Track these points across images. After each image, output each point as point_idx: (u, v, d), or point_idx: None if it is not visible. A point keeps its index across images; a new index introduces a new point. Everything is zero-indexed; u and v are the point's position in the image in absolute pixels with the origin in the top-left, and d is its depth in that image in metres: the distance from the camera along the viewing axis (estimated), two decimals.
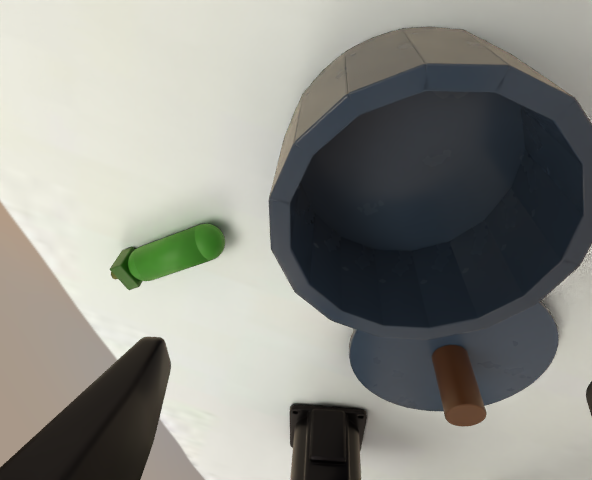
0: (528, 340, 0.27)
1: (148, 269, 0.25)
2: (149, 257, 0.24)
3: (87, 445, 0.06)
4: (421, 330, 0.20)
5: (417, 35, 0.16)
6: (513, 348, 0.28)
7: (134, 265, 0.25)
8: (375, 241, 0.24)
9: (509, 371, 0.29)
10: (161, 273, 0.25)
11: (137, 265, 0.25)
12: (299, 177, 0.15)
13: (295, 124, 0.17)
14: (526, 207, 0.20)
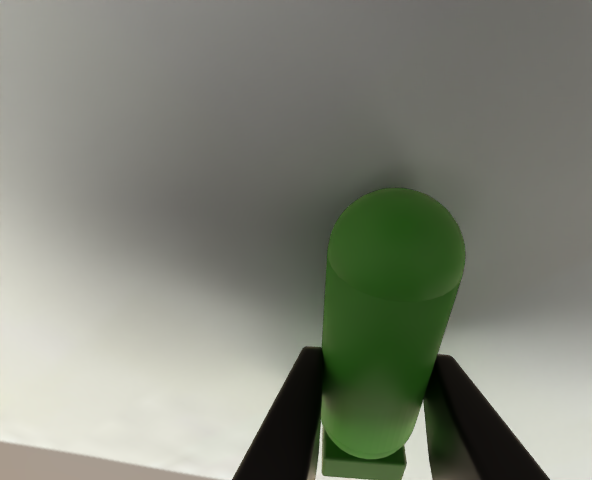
0: None
1: (365, 433, 0.08)
2: (337, 407, 0.08)
3: (305, 462, 0.06)
4: None
5: None
6: None
7: (339, 441, 0.09)
8: None
9: None
10: (399, 417, 0.08)
11: (342, 438, 0.09)
12: None
13: None
14: None
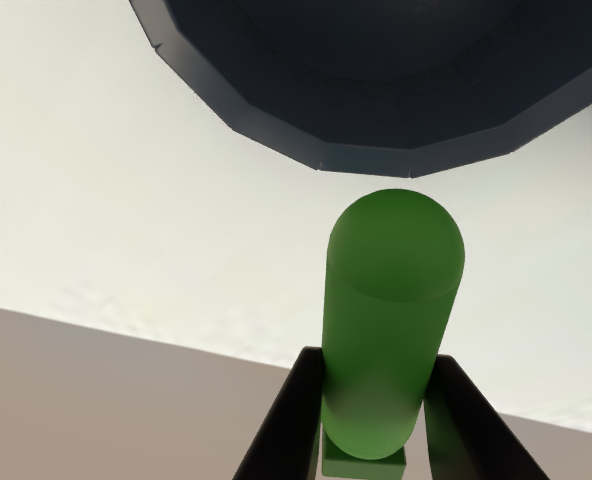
0: None
1: (365, 433, 0.08)
2: (337, 407, 0.08)
3: (305, 462, 0.06)
4: None
5: None
6: None
7: (339, 442, 0.09)
8: (494, 9, 0.14)
9: None
10: (399, 418, 0.08)
11: (342, 439, 0.09)
12: (209, 68, 0.10)
13: None
14: None
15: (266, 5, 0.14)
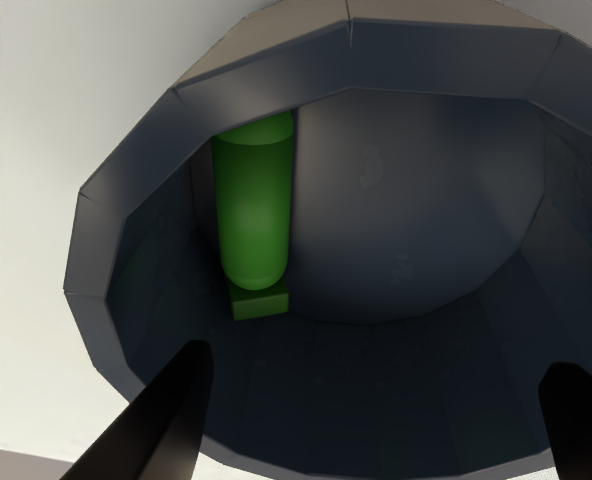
0: None
1: None
2: None
3: (149, 450, 0.06)
4: None
5: None
6: None
7: None
8: (463, 283, 0.15)
9: None
10: None
11: None
12: None
13: None
14: None
15: None
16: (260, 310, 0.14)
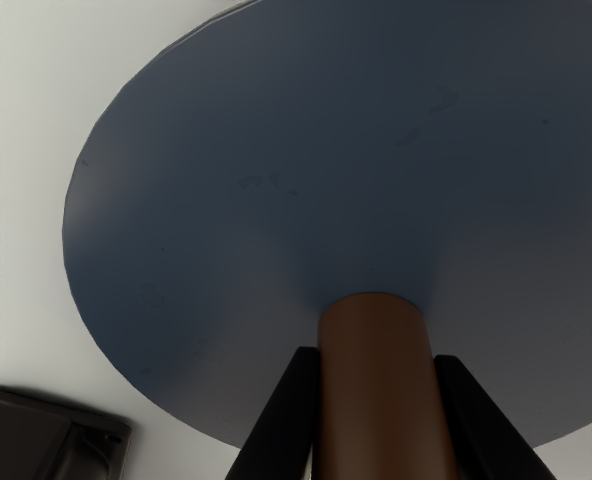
0: None
1: None
2: None
3: (298, 461, 0.06)
4: None
5: None
6: (554, 348, 0.09)
7: None
8: None
9: (503, 408, 0.11)
10: None
11: None
12: None
13: None
14: None
15: None
16: None
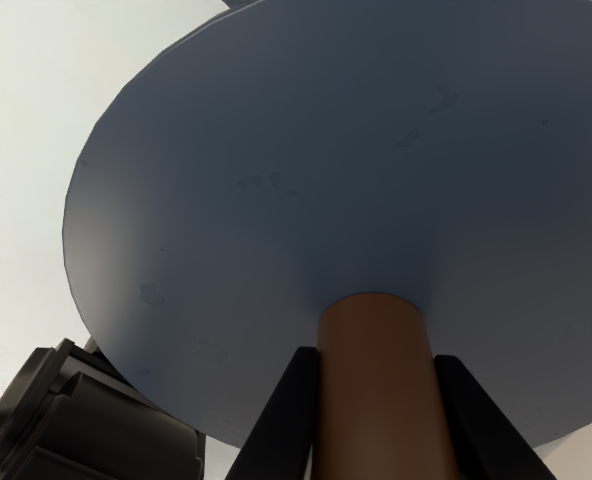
0: None
1: None
2: None
3: (297, 461, 0.06)
4: None
5: None
6: (553, 348, 0.09)
7: None
8: None
9: (503, 408, 0.11)
10: None
11: None
12: None
13: None
14: None
15: None
16: None
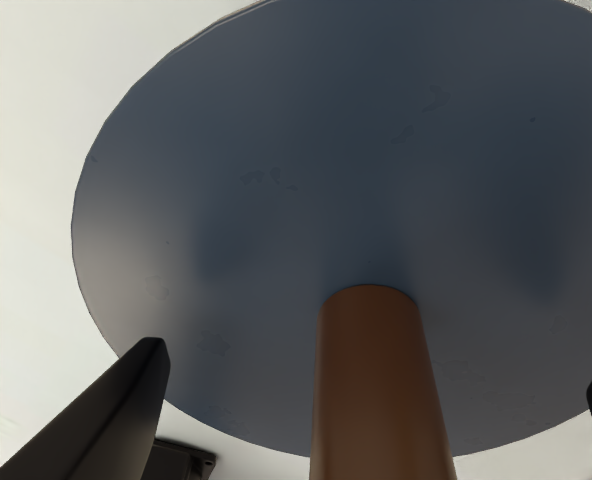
0: None
1: None
2: None
3: (87, 445, 0.06)
4: None
5: None
6: (544, 338, 0.10)
7: None
8: None
9: (496, 398, 0.11)
10: None
11: None
12: None
13: None
14: None
15: None
16: None
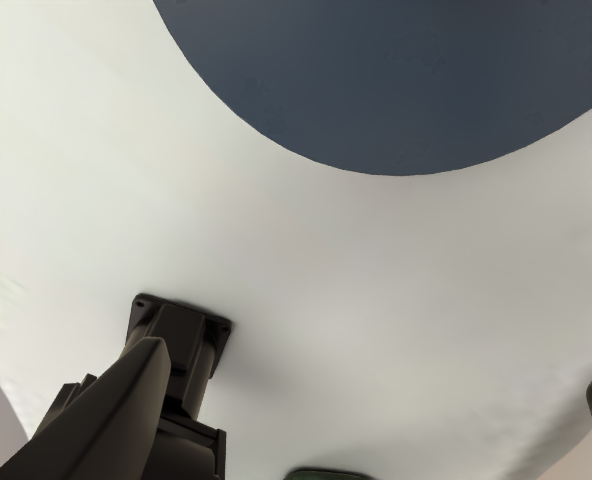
0: None
1: None
2: None
3: (87, 445, 0.06)
4: None
5: None
6: None
7: None
8: None
9: (568, 29, 0.10)
10: None
11: None
12: None
13: None
14: None
15: None
16: None
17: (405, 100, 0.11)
